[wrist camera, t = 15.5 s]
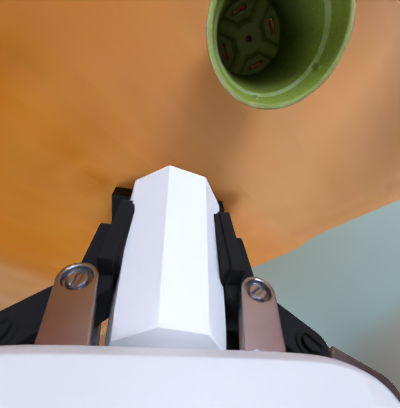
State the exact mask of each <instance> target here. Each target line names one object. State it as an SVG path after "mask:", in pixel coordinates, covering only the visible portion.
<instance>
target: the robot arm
mask: <svg viewBox="0 0 400 408" xmlns="http://www.w3.org/2000/svg"><path fill="white" fill-rule="evenodd" d="M134 212H135V204H133V201H132V200H124V199H122V200H121V202H120V204H119V207H118V209H117V211H116V214H115V216H114V219H113V221H112V223H111V224H105V223H101V224H100V225H99V227H98V229H97V232H96V234H95V236H94V238H93V240H92V242H91V244H90V246H89V248H88V250H87V252H86V254H85V256H84V258H83V260H82V262H80V263H74V264H71V265H68V266H67V267H65V268H63V269H62V270H61V271H60V272H59V273H58V275H57V276H56V278H55V281H54V284H53V286H51V287H49V288H47V289H44V290H42V291H40V292H38V293H36V294H34V295H32V296H30V297H28V298H26V299H24V300H22V301H20V302H18V303H16V304H14V305H12V306H10V307H8V308H6V309H4V310H2V311H0V408H400V394H399V392H398V390H397V389H396V387H395V386H394V385H393V384H392V383H391V382H390V381H389V380H388V379H387V378H386V377H384V376H383V375H382V374H380V373H378V372H376V371H375V370H373V369H371V368H370V367H368V366H366V365H364V364H363V363H361V362H359V361H357V360H355V359H354V358H352V357H350V356H349V355H347V354H345V353H343V352H342V351H340V350H338V349H336V348H335V347H333V346H332V347H331V348H329V347H328V346H327V345H326V342H325V341H324V340H323V339H322V337H321V336H320V335H319V334H317V333H316V332H315V331H313V330H312V329H311V328H310V327H308V326H307V325H306V324H304V323H303V322H302V321H300V320H299V319H298V318H297V317H295V316H294V315H293V314H291V313H290V312H289V311H287V310H286V309H284V308H283V307H282V306H281V305H279V304H278V303H277V301H276V296H275V292H274V290H273V288H272V287H271V286H270V284H268V283H267V282H266V281H265V280H263V279H261V278H258V277H254V276H253V272H252V269H251V266H250V263H249V260H248V257H247V254H246V250H245V247H244V244H243V241H242V239H241V238H236V235H235V232H234V228H233V225H232V222H231V218H230V215H229V213H227V212H219V211H218V213H217V214H214V222H215V232H216V242H217V251H218V261H219V270H220V280H221V284H222V286H223V287H224V304H225V322H226V350H217V349H188V348H156V347H122V346H99V339H100V330H101V322H103V321H104V320H106V319H107V318H109V315H110V309H111V303H112V298H113V293H114V290H115V287H116V283H117V280H118V277H119V274H120V269H121V264H122V259H123V254H124V249H125V245H126V241H127V237H128V234H129V230H130V226H131V223H132V219H133V215H134Z"/></svg>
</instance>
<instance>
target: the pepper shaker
mask: <svg viewBox="0 0 400 408" xmlns="http://www.w3.org/2000/svg"><path fill="white" fill-rule="evenodd" d="M130 200H132V201H133V204H135V212H134V215H133V219H132V223H131V226H130V230H129V234H128V237H127V241H126V245H125V249H124V254H123V259H122V264H121V269H120V274H119V277H118V280H117V283H116V287H115V290H114V293H113V298H112V303H111V309H110V315H109V321H108V326H107V332H106V338H105V346H122V347H156V348H188V349H217V350H226V322H225V304H224V287H223V286H222V284H221V280H220V270H219V261H218V251H217V242H216V232H215V222H214V214H217V213H218V211H219V205H218V203H217V200H216V198H215V196H214V194H213V192H212V190H211V188H210V185H209V183H208V181H207V179H206V177H203V176H200V175H197V174H194V173H191V172H188V171H185V170H182V169H179V168H176V167H173V166H170V165H169V166H167V167H165V168H163V169H160V170H158V171H156V172H154V173H151V174H149V175H147V176H144V177H142V178H140V179H138V180H136V181H135V184H134V188H133V192H132V195H131V199H130Z"/></svg>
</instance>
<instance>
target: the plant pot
mask: <svg viewBox="0 0 400 408" xmlns="http://www.w3.org/2000/svg"><path fill="white" fill-rule="evenodd" d="M242 5H246V7H247V8H246V9H244V10H242V11H240V12H238V13H237V14H235V15H234V16H233V15H232V14H233V11H234V10H235V9H237V8H238V7H240V6H242ZM355 10H356V0H211V1H210V5H209V10H208V16H207V28H206V32H207V47H208V52H209V57H210V61H211V64H212V67H213V69H214V72H215V74H216V76H217V77H218V79H219V81H220V82H221V84H222V85H223V86H224V88H225V89H226V90H227V91H228V92H229V93H230V94H231V95H232V96H233V97H234V98H236V99H237V100H238V101H240V102H242V103H244V104H246V105H248V106H251V107H254V108H258V109H279V108H284V107H287V106H290V105H292V104H294V103H297V102H299V101H301V100H302V99H304V98H306V97H307V96H309V95H310V94H311V93H312V92H314V91H315V90H316V89H317V88H318V87H320V86H321V85H322V84H323V83H324V82H325V81H326V79H327V78H328V77H329V75H330V74H331V73H332V71H333V70H334V68H335V67H336V66H337V64H338V63H339V61H340V59H341V57H342V55H343V53H344V51H345V49H346V46H347V44H348V41H349V39H350V35H351V32H352V28H353V24H354V18H355ZM269 18H271V19H272V20H273V22H274V27H275V32H274V35H271V28H270V24H269V22H268V19H269ZM247 36H251V41H250V42H247V41H246V37H247ZM223 43H224V44H225V48H226V52H227V54H228V57H229V59H227V58H226V57H225V56H224V54H223V52H222V44H223ZM260 60H261V61H262V63H261V65H259V66H257V67H256V68H254V69H249V66H251V65H254V64H256V63H257V62H259V61H260Z"/></svg>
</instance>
